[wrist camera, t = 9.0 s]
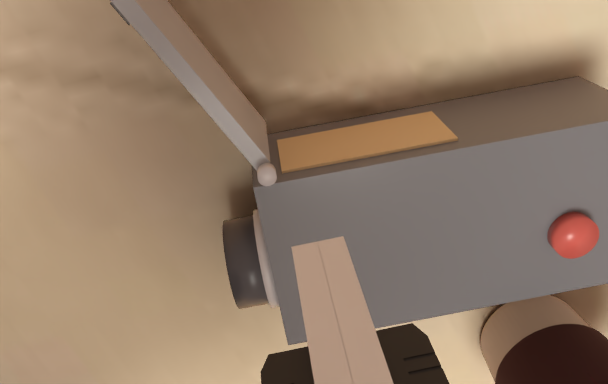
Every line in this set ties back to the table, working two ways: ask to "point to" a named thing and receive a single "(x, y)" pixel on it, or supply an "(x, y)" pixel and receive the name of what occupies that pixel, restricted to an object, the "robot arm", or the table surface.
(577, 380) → the coffee cup
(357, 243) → the camera box
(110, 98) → the table surface
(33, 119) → the table surface
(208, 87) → the side door
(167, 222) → the table surface
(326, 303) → the robot arm
